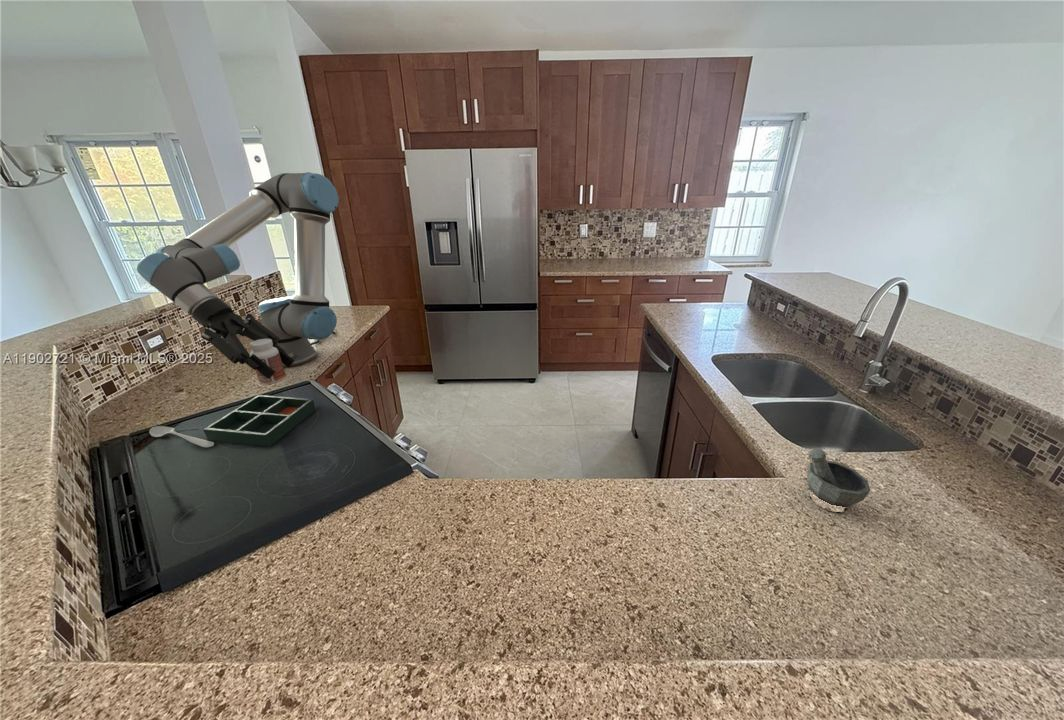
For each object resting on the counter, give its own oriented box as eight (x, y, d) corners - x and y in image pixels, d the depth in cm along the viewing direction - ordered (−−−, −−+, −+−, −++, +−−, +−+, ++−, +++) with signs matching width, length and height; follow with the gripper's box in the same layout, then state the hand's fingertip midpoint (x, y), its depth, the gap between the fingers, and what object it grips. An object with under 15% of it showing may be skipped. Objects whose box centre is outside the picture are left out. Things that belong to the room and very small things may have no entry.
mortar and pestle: (843, 489, 79) (864, 444, 74) (867, 524, 71) (892, 476, 66) (784, 480, 82) (801, 436, 77) (801, 512, 74) (821, 465, 69)
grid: (262, 404, 109) (258, 394, 108) (316, 409, 107) (313, 399, 106) (207, 440, 94) (202, 429, 92) (269, 446, 92) (265, 435, 90)
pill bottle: (284, 372, 103) (273, 335, 99) (288, 380, 99) (276, 342, 95) (258, 379, 100) (245, 340, 95) (260, 387, 96) (247, 348, 91)
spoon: (163, 427, 99) (161, 422, 98) (221, 441, 94) (219, 435, 93) (145, 436, 95) (142, 431, 94) (204, 451, 90) (201, 445, 89)
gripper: (232, 306, 103) (300, 362, 108) (160, 329, 86) (245, 395, 90) (243, 288, 100) (313, 347, 105) (171, 308, 83) (258, 377, 88)
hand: (281, 369), depth 98 cm, fingers closed on pill bottle, 6 cm apart
